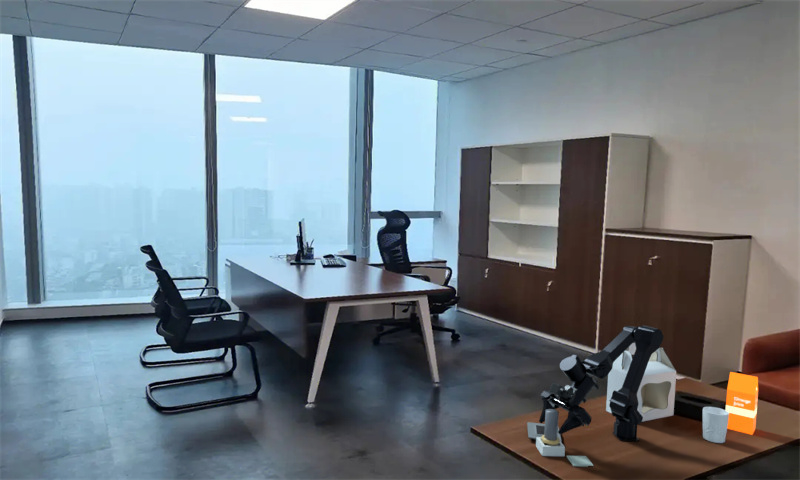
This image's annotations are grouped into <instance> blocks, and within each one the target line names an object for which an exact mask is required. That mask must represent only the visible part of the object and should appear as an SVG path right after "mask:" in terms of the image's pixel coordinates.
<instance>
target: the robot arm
mask: <svg viewBox="0 0 800 480" xmlns="http://www.w3.org/2000/svg"><path fill="white" fill-rule="evenodd" d="M663 334H664V333H663V332H662V330H661V329H659V328H657V327H656V328H655V327H651V326H648V325H644V324H642V325H641V326H630V325H625V326H624V327H623V328H622V331H621V332H620V333H619V334H618V335H617V336H615V338H614V339H612V341H610V342H609V343H608V344H607V345H606V346H605V347H604V348H603V349H602V350H600V351H599V352H598V351H597V352H594V353H593V354H591V355H590V356H588V357H586V359H584V360H581V359H580V356H578V355H577V354H572V355H571V356H568V357H566V358H563V359H562V360H561V362H560V363H559V368H560V370H561V371H562V373H563V374H564V375H565V376H566V377H567V378H568V380H569V381H571V382H572V383H571V384H565V386H561V385H559V384H557V383H556V382H552V383H551V386H550V388H549V390H543V391H542V392H541V393H540V397H541V400H542V403H543V406H542V410H541V413H540V416H539V420H538V422H539V423H540V424H544V423H545V413H546V409H555V410H558V409H559V408H561V409H563V410H565V411H566V412H568V413H567V418H566V419H565V420H564V422H563V423H562V425H561V426H560V427H559V431H558V433H559V434H560V435H562V434H565V433H567V432H569V431H571V430H573V429H577V428H579V427H585V426H586V427H587V426H589V425H590V424H591V423H592V416H591V415H590V413H589V412H588V411H587V410H586V409H585V408H584V407H582V406H580V405H581V404H582V403H586V402H587V399H586V397H587V396H588V394H589V393H590V392H591V390H592V389H596V390H599V388H600V386H599V380H598V379H601V380H602V379H605V378H606V377H608V374H609V372H610V371H611V370H612V367H613V362H614V361H615V360H616V359H617V358H618V357H619V356H620V355H621V354H622V353H623V352H624V351H627V350H626V349H627V348H628V347H629V346H630V345H631V344H632V343H635V346H636V351H635V353H634V355H632V361H631V364H630V367H629V370H628V372H627V375H626V378H625V380H624V383H623V386H622V388H621V389H620V390H618V391H615V390H614V391H613V393H612V397H611V399H610V400H609V401H610V405H609V407H610V409H611V412H612V413H611V416H612V417H615V421H614V423H613V431H612V434H613V435H614V436H615V437H616V438H617V439H618V440H619V441H621V442H622V441H625V442H628V441H629V442H639V441H640V439H639V437H637V435H638V425H640V424H642V419H643V417H642V415H641V414H640V413H639V412H638V410H637V408H638V398H637V392H638V389H639V386H640V384H641V381H642V378H643V375H644V373H645V370H646V367H647V365H648V362H649V359H650V357H651V355H652V353H654V352H655V351H656V350H658V349H659V347H660V348H661V345H662V342H663V341H664V338H665V337H664V335H663ZM592 376H593V377H595V378H597V379H595V378H593V377H592Z"/></svg>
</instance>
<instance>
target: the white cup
mask: <svg viewBox="0 0 800 480" xmlns="http://www.w3.org/2000/svg"><path fill="white" fill-rule="evenodd" d="M728 419H729V412H728V411H726V409H723V408H720V407H715V406H704V407H702V438H703V439H704V440H707V441H708V442H710V443H715V444H723V443H726V436H727V433H728V429H727V427H728Z"/></svg>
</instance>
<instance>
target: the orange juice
mask: <svg viewBox="0 0 800 480" xmlns="http://www.w3.org/2000/svg"><path fill="white" fill-rule="evenodd" d="M758 397H759V377H758V376H755V375H749V374H746V373H745V374H744V373H738V372H733V371H730V372H729V377H728V383H727V387H726V401H725V410H726V411H728V412H729V419H728V427H727V430H731V431H735V432H738V433H739V432H740V433H742V434H747V435H751V436H752V435H754V433H755V431H756V425H757V412H758V399H759V398H758Z"/></svg>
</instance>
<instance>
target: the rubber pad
mask: <svg viewBox="0 0 800 480" xmlns="http://www.w3.org/2000/svg"><path fill="white" fill-rule="evenodd" d="M566 458H567V460H568V461H569V462H570V464H571V465H572V467H588V466H593V467H594V464H593V463H592V461H591V460H590V459H589V458H588V457H587V456H586V455H566Z"/></svg>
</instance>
